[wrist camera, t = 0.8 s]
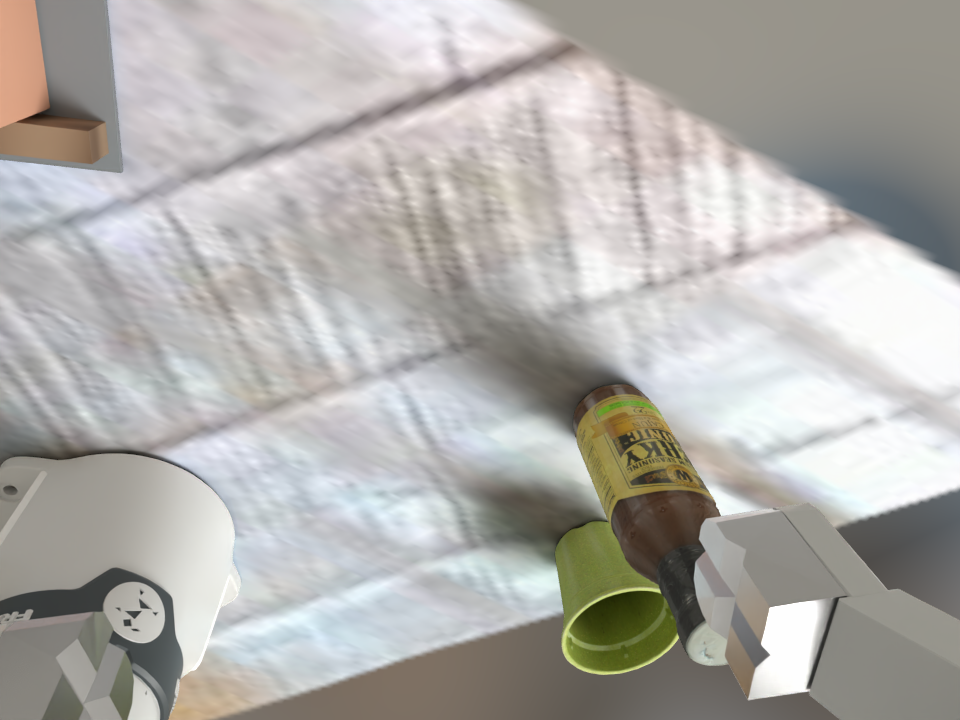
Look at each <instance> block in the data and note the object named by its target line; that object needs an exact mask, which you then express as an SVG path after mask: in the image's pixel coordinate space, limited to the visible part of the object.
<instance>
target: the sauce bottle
mask: <svg viewBox="0 0 960 720" xmlns="http://www.w3.org/2000/svg"><path fill="white" fill-rule="evenodd" d="M573 427H574V432H575V437H576V439H577V444H578V447H579V450H580V452H581V455H582V457H583V460H584V462H585V465H586V467H587V469H588V472H589V474H590V477H591V479H592V482H593V484H594V487H595V489H596V491H597V494H598V496H599V499H600V502H601V504H602V507H603V509H604V512H605V514H606V517H607V519H608V521H609V524H610V526H611V529H612V531H613V533H614V535H615V537H616V538H617V540H618V542H619V544H620V547H621V550H622V552H623V554H624V556H625V559H626V561H627V562H628V563H629V565H630V566H631V567H632V568H633V569H634V570H635V571H636V572H637V573H639V574H640V575H642V576H643V577H645V578H647V579H649V580H650V581H651V582H654V583H655V584H658V585H659V589H660V592H661V594H662V596H663V597H665V599H666V600H667V603H668V605H669V607H670V610H671V612H672V614H673V616H674V618H675V620H676V627H677V633H678V636H679V638H680V640H681V643H682V645H683V648H684V649H685V651H686V653H687V655H688V656H689V657H690V658H691V659H692V660H694V661H695V662H697V663H700V664H703V665H711V666H714V665H724V664H728V662H727V660H726V658H725V651H726V646H727V639H725V638H724V637H722V636H721V635H719V634H718V633H716V632H715V631H713V630H712V629H710V627H709V626H708V624H707V622H706V620H705V618H704V616H703V614H702V611H701V608H700V606H699V603H698V600H697V596H696V590H695V583H694V572H695V562H696V561H697V560H698V559H699V557H700V556H701V555H702V554H703V553H704V552H705V551H706V550H705V549H704V547H703V545H702V543H701V542H700V540H699V536H700V530H701V525H702V524H703V522H704V521H705V519H708V518H714V517H720V516H721V515H720V513H719V510H718V508H717V507H716V503H715V501H714V499H713V497H712V496H711V494H710V493H709V491H708V489H707V488H706V486H705V485H704V483H703V481H702V480H701V478H700V477H699V475H698V474H697V472H696V470H695V469H694V467H693V466H692V464H691V462H690V461H689V459H688V458H687V456H686V455H685V453H684V451H683V450H682V449H681V447H680V444H679V443H678V441H677V440H676V439H675V437H674V435H673V434H672V432H671V430H670V429H669V427H668V425H667V424H666V422H665V420H664V418H663V417H662V415H661V414H660V412H659V411H658V409H657V408H656V406H655V405H654V404H653V403H652V402H651V401H650V400H649V399H648V398H647V397H646V396H645V395H644V394H643V393H642V392H640V391H639V390H637V389H635V388H634V387H632V386H630V385H625V384H620V385H609V386H602V387H600V388H597V389H595V390H594V391H592V392H591V393H590V394H589V395H587V396H586V397H585V398H584V399H583V400H582V402H580V403H579V405H578V406H577V407H576V410H575V412H574V418H573Z"/></svg>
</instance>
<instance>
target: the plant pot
mask: <svg viewBox="0 0 960 720" xmlns="http://www.w3.org/2000/svg"><path fill="white" fill-rule="evenodd" d="M555 559H556V565H557V571H558V577H559V583H560V590H561V597H562V603H563V610H564V621H563V626H564V628H563V631H562V636H561V645H562V650H563V653H564V655H565V657H566V658H567V660H568V661H569V662H570V663H571V664H572V665H574V666H575V667H577V668H578V669H581V670H582V671H585V672H589V673H596V674H604V675H606V674H619V673H624V672H628V671H631V670H635V669H638V668H640V667H643V666H645V665H647V664H649V663H651V662H653V661H655V660H656V659H658V658H659V657H661V656H662V655H663V654H664V653H666V652H667V651H668V650H669V649H670V648H671V647H672V646H673V645H674V644H675V643H676V641H677V640H678V639H679V636H678V633H677V627H676V620H675V618H674V616H673V614H672V612H671V610H670V607H669V605H668V603H667V600H666V599H665V597H663V596H662V594H661V592H660V589H659V585H658V584H655V583H654V582H651V581H650V580H649V579H647V578H645V577H643V576H642V575H640V574H639V573H637V572H636V571H635V570H634V569H633V568H632V567H631V566H630V565H629V563H628V562H627V561H626V559H625V556H624V554H623V552H622V550H621V547H620V544H619V542H618V540H617V538H616V537H615V535H614V533H613V531H612V529H611V526H610V524H609V523H608V522H602V521H594V522H589V523H587V524H586V525H584V526H583V527H580V528H576V529H571V530H570V531H568V532H567V533H566V534H565V535H564V536H563V537H562V538H561V540H560V541H559V543H558V545H557V547H556V550H555Z"/></svg>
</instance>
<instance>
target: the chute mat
mask: <svg viewBox="0 0 960 720" xmlns="http://www.w3.org/2000/svg"><path fill="white" fill-rule="evenodd" d="M35 4H36V11H37V18H38V25H39V32H40V39H41V46H42V53H43V61H44V68H45V75H46V82H47V89H48V96H49V103H50V108H49V109H47V110H44V111H42V112H39V113H37V114H45V115H53V116H61V117H69V118H77V119H85V120H93V121H101V122H106V130H107V140H108V150H109V153H108V154H107V155H105V156H104V157H102V158H101V159H99V160H98V161H96V162H95V163H93V164H86V163H78V162H69V161H60V160H51V159H42V158H33V157H25V156H16V155H7V154H0V160H9V161H18V162H27V163H36V164H45V165H54V166H63V167H72V168H81V169H90V170H99V171H108V172H117V173H121V172H123V164H122V154H121V143H120V133H119V123H118V112H117V102H116V91H115V81H114V70H113V60H112V49H111V39H110V29H109V18H108V8H107V0H35Z"/></svg>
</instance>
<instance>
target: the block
mask: <svg viewBox="0 0 960 720" xmlns="http://www.w3.org/2000/svg"><path fill="white" fill-rule="evenodd" d="M49 108H50V103H49V96H48V89H47V82H46V75H45V68H44V61H43V53H42V46H41V39H40V32H39V25H38V18H37V11H36V4H35V0H0V128H2V127H4V126H7V125H9V124H12V123H14V122H17V121H19V120H22V119H24V118H27V117H29V116H32V115H34V114H37V113H39V112H42V111H44V110H47V109H49Z"/></svg>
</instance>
